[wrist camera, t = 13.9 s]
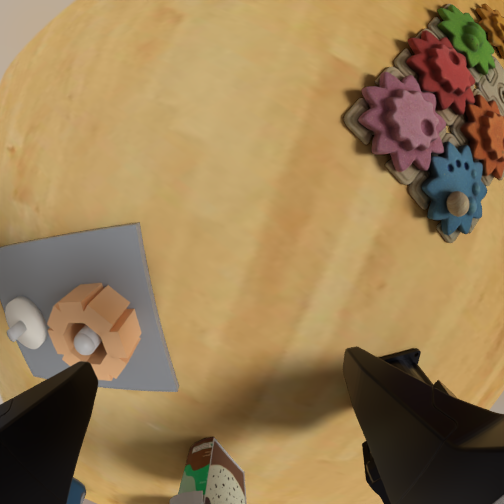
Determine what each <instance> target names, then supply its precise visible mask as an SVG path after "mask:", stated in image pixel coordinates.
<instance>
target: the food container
mask: <svg viewBox="0 0 504 504" xmlns="http://www.w3.org/2000/svg"><path fill="white" fill-rule="evenodd" d="M170 504H247V502H246V489H245V474H244V471H243V470H242V469H241V468H240V467H239V465H238V464H237V463H236V462H235V461H234V460H233V459H232V458H231V456H230V455H229V454H228V453H227V452H226V451H225V449H224V448H223V447H222V446H221V445H220V444H219V442H218V441H217V440H216V439H215V437H210V438H205V439H203V440H200V441H198V442H196V443H195V444H194V445H193V446H192V447H191V448H190V451H189V454H188V458H187V462H186V466H185V469H184V473H183V477H182V481H181V485H180V488H179V492H178V495H175V496H173V497H172V498H171V499H170Z"/></svg>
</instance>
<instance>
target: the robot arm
mask: <svg viewBox="0 0 504 504" xmlns="http://www.w3.org/2000/svg"><path fill="white" fill-rule="evenodd" d="M420 353H421V352H420V351H419V349H413V350H409V351H406V352H402V353H398V354H394V355H390V356H386V357H382V358H378V357H376V356H374V355H372V354H370V353H369V352H367V351H365V350H363V349H361V348H359V347H351V348H347V349H346V350H345V354H344V364H343V373H344V377H345V380H346V384H347V387H348V391H349V395H350V398H351V402H352V405H353V409H354V412H355V414H356V417H357V419H358V421H359V424H360V426H361V429H362V431H363V434H364V436H365V438H366V441H365V442H364V443H362V447H363V456H364V465H365V474H366V481H367V483H368V484H369V486H370V487H371V488H372V489H373V490H374V491H375V493H377V494H378V495H379V496H380V497H381V499H382V501H383V503H384V504H504V414H499V413H495V412H492V411H489V410H487V409H484V408H481V407H478V406H475V405H473V404H470V403H467V402H465V401H462V400H460V399H457V397H456V396H455V395H454V394H453V393H452V392H451V391H450V390H449V389H448V388H447V387H446V386H445V385H444V384H442V383H441V382H440V381H439V380H438V381H437V382H436V383H435V384H434V385H433V384H432V382H431V381H430V380H429V378H428V377H427V376H426V375H425V373H424V372H423V371H422V370H421V368H420V367H419V366H418V365H417V364H418V361H419V357H420ZM97 388H98V378H97V376H96V374H95V372H94V370H93V367H92V365H91V364H90V363H89V362H85V361H79V362H77V363H76V364H74V365H72V366H70V367H68V368H67V369H65V370H63V371H61V372H59V373H58V374H56V375H54V376H52V377H50V378H49V379H47V380H45V381H43V382H41V383H39V384H38V385H36V386H34V387H32V388H30V389H29V390H27V391H25V392H23V393H21V394H19V395H18V396H16V397H14V399H13V398H12V399H10V400H8V401H7V402H5V403H3V404H1V405H0V504H67V499H68V495H69V491H70V486H71V482H72V478H73V475H74V471H75V467H76V463H77V460H78V456H79V453H80V449H81V446H82V443H83V440H84V436H85V433H86V430H87V427H88V424H89V421H90V417H91V414H92V409H93V405H94V400H95V396H96V392H97Z"/></svg>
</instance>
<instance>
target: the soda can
mask: <svg viewBox="0 0 504 504" xmlns="http://www.w3.org/2000/svg"><path fill="white" fill-rule="evenodd" d="M85 495H86V489H85V486H84V485H83V484H82V483H81V482H80V481H78V480H77V479H75V478H74V477H73V478H72V482H71V486H70V491H69V495H68V499H67V504H82V503H83V501H84V498H85Z"/></svg>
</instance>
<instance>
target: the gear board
mask: <svg viewBox="0 0 504 504" xmlns="http://www.w3.org/2000/svg"><path fill="white" fill-rule="evenodd" d="M92 283H102V285H103V289H104V288H105V287H107V286H108V285H109V286H110V287H111V288H112V289H114V290H115V291H116V292H117V293H119V294H120V295H121V296H123V297H124V298H125V299H126V300H128V301H129V302H130V304H129V305H128V307H127V308H126V309H135V312H136V316H137V319H138V322H139V326H140V329H141V332H142V333H141V335H140V338H141V339H140V341H139V343H138V345H137V347H136V349H135V350H134V352H133V354H132V356H131V358H130V360H129V362H128V363H127V365H126V366H125V368H124V369H123V370H122V372H121V373H120V375H119V376H118V377H117V379H115V378H114V377H113V379H112V381H106V380H98V387H104V388H114V389H126V390H141V391H165V392H178V388H179V384H178V381H177V378H176V375H175V372H174V368H173V365H172V362H171V359H170V355H169V352H168V348H167V345H166V341H165V338H164V334H163V330H162V327H161V323H160V319H159V315H158V311H157V307H156V303H155V298H154V294H153V290H152V285H151V281H150V276H149V271H148V266H147V261H146V256H145V251H144V245H143V240H142V234H141V228H140V222H139V223H132V224H125V225H118V226H111V227H105V228H99V229H92V230H86V231H80V232H74V233H68V234H63V235H57V236H52V237H46V238H41V239H36V240H30V241H25V242H20V243H15V244H11V245H6V246H1V247H0V300H1V303H2V306H3V309H4V312H5V316H6V320H7V323H8V326H9V328H10V329H9V330H8V331H7V335H8V337H9V339H10V340H11V341H13V342H15V341H17V344H18V346H19V348H20V350H21V352H22V354H23V356H24V358H25V361H26V363H27V365H28V366H29V368H30V370H31V372H32V374H33V376H35V377H40V378H45V379H49V378H50V377H52V376H54V375H56V374H58V373H59V372H61V371H63V370H65V369H67V368H68V367H70V366H69V365H68V364H67V363H66V362H64V361H63V360H62V358H63V356H64V355H63V354H57V352H56V349H55V347H54V345H53V343H52V340H51V338H50V335H49V333H48V331H47V330H48V329H49V328H50V327H49V326H48V325H47V322H48V320H49V317H50V314H51V311H52V309H53V306H54V305H55V304H56V303H57V302H59V301H60V300H61V299H62V298H63V297H65V296H66V295H67V294H68V293H70V292H71V291H72V290H73V289H75V288H76V287H78V286H79V285H80V284H92ZM101 341H102V339H101V337H100V336H99V335H98V334H97V333H96V332H94V331H93V330H92V329H91V328H89V327H88V326H87V325H86V324H85V326H84V327H83V328H82V329H81V330H80V331H79V332H78V333H77V335H76V336H75V338H74V347H75V349H76V351H77V352H78V353H80V354H81V355H90V354H92V353H93V352H94V351H95V349H96V348H97V347H98V345H99V344H100V343H101Z"/></svg>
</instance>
